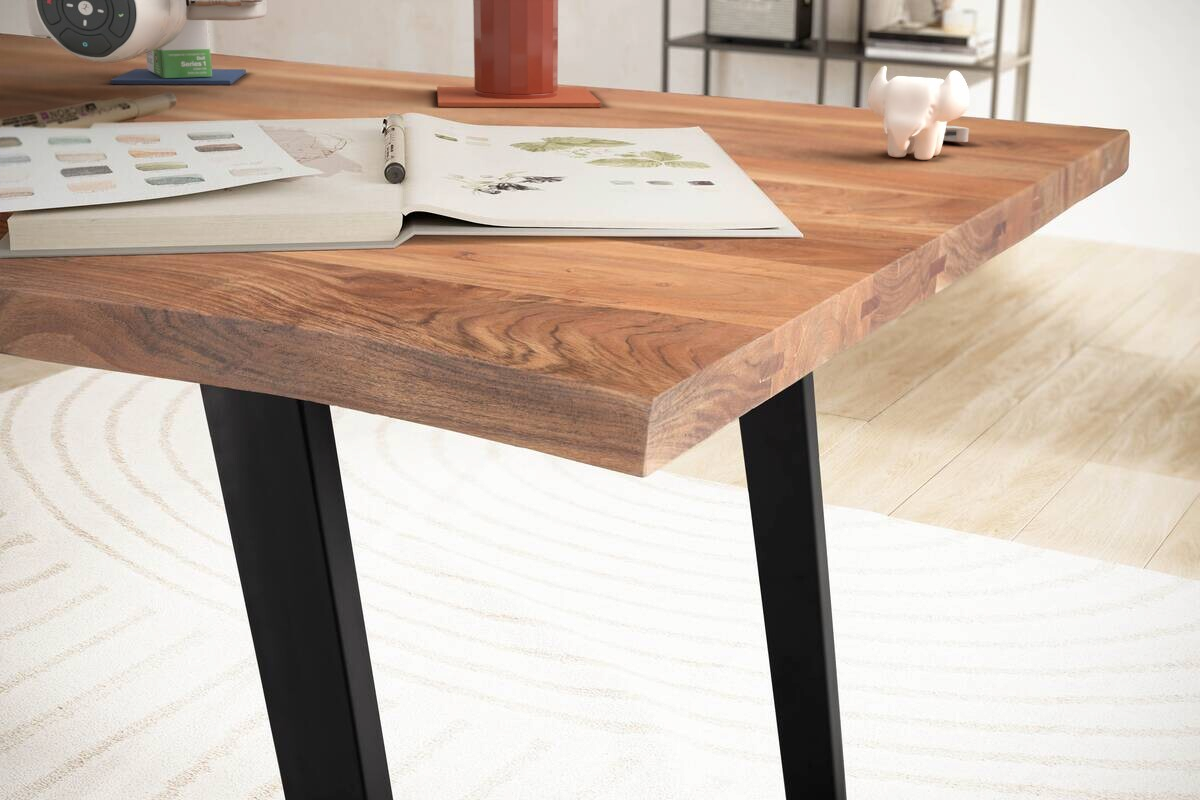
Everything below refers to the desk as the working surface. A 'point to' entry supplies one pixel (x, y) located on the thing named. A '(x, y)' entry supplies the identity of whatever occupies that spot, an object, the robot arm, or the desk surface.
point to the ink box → (184, 53)
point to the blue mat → (151, 78)
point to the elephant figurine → (917, 110)
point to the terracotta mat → (469, 99)
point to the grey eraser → (956, 134)
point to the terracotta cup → (515, 48)
